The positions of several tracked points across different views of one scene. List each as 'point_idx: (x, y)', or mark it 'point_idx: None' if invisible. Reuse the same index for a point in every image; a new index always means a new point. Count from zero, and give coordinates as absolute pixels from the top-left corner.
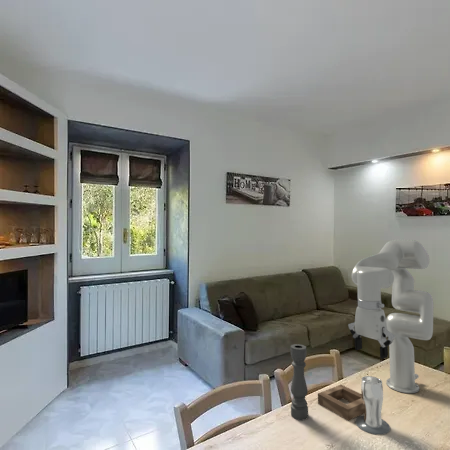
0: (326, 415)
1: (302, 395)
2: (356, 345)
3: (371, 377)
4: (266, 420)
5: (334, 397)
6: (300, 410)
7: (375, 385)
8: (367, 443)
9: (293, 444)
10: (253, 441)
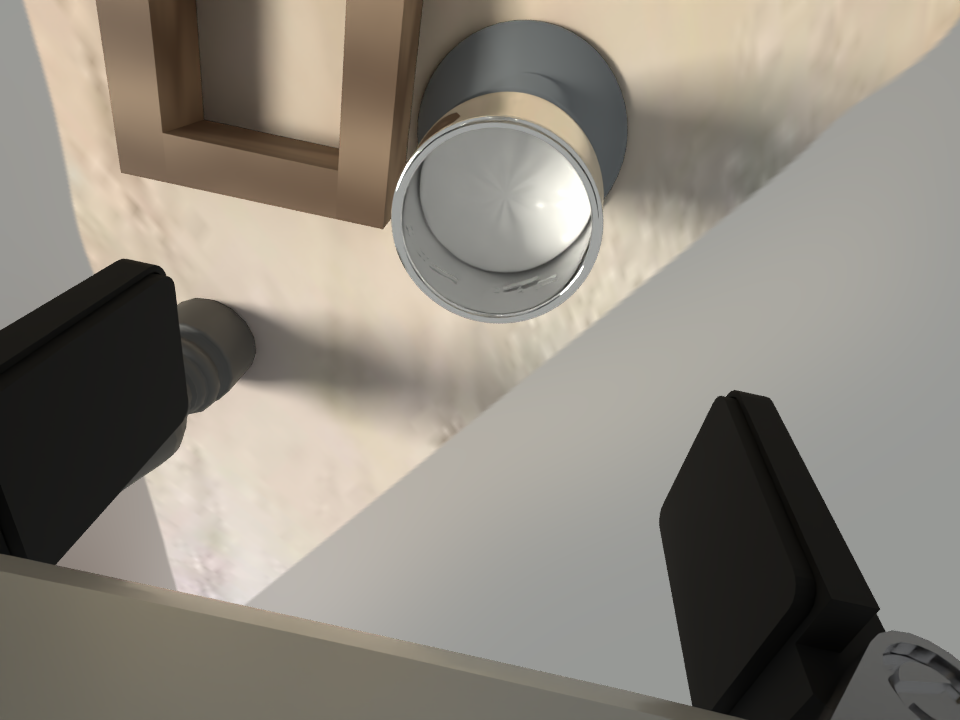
0: (288, 241)
1: (182, 437)
2: (124, 472)
3: (452, 132)
4: (172, 458)
5: (180, 36)
6: (222, 394)
7: (562, 297)
8: (566, 327)
9: (354, 509)
10: (259, 566)
